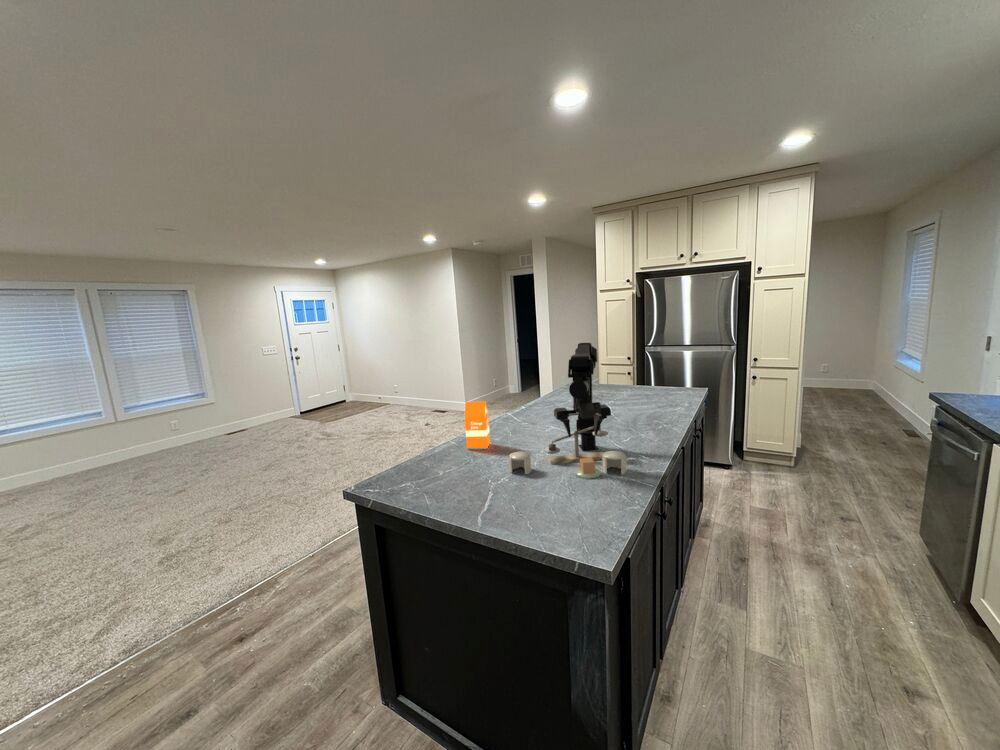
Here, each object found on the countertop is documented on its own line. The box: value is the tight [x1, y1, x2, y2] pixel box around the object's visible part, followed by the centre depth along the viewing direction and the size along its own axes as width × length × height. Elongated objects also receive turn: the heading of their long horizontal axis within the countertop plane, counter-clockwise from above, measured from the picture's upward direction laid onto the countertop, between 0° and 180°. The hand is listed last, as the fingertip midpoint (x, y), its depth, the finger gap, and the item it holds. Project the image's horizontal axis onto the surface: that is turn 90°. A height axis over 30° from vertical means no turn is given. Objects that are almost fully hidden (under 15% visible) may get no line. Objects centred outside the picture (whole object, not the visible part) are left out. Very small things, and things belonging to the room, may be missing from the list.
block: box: [579, 458, 596, 474], centre depth 136 cm, size 4×4×4 cm
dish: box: [574, 467, 602, 480], centre depth 137 cm, size 9×9×1 cm
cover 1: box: [508, 451, 532, 475], centre depth 142 cm, size 7×7×6 cm
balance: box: [544, 424, 609, 465], centre depth 149 cm, size 24×6×13 cm, turn 94°
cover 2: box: [602, 450, 627, 475], centre depth 137 cm, size 7×7×6 cm
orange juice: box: [464, 401, 491, 449], centre depth 170 cm, size 8×9×20 cm
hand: (582, 436), depth 139 cm, fingers open, 9 cm apart
